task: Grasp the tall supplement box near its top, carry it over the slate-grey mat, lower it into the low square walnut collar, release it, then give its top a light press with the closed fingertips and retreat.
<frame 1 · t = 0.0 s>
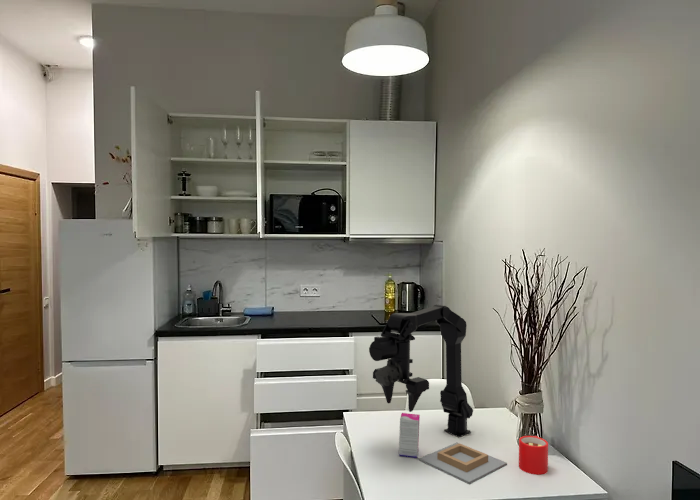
hand: (399, 407, 147), 15 cm above the table, fingers open, 9 cm apart
mug: (533, 465, 142), on the table
holder: (462, 462, 143), on the table
supplement box: (408, 454, 149), on the table
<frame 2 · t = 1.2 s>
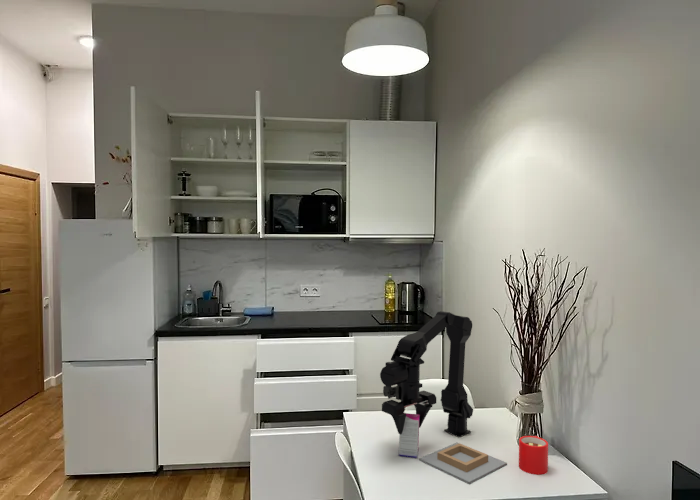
hand: (409, 430, 149), 7 cm above the table, fingers closed on supplement box, 8 cm apart
supplement box: (408, 454, 149), on the table, touching gripper
everything else where it was.
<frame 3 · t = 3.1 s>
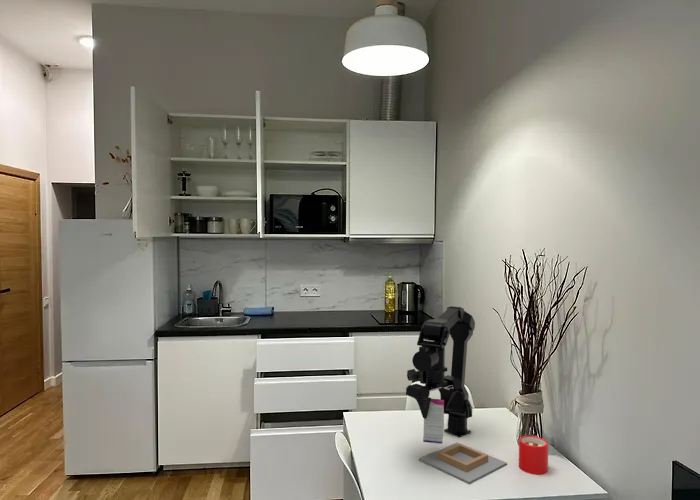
hand: (434, 415, 146), 13 cm above the table, fingers closed on supplement box, 8 cm apart
supplement box: (433, 439, 146), point 5 cm above the table, touching gripper
everything else where it was.
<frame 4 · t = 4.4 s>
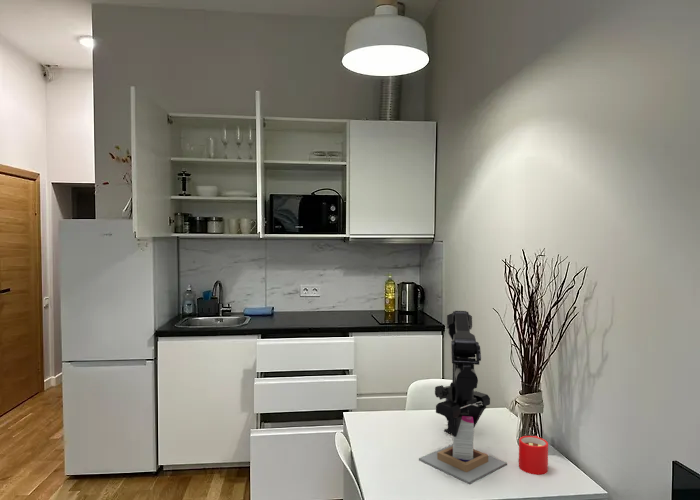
hand: (463, 432, 143), 9 cm above the table, fingers closed on supplement box, 8 cm apart
supplement box: (462, 457, 143), point 1 cm above the table, touching gripper
everything else where it was.
when the fingers open (9 cm above the table, at t = 5.0 s): supplement box stays where it is, resting on holder.
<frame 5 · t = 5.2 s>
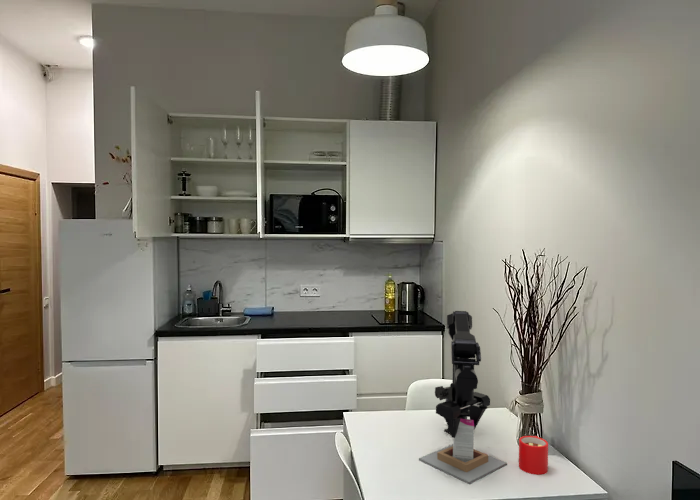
hand: (463, 433, 143), 9 cm above the table, fingers open, 9 cm apart
supplement box: (462, 460, 143), resting on holder
everything else where it was.
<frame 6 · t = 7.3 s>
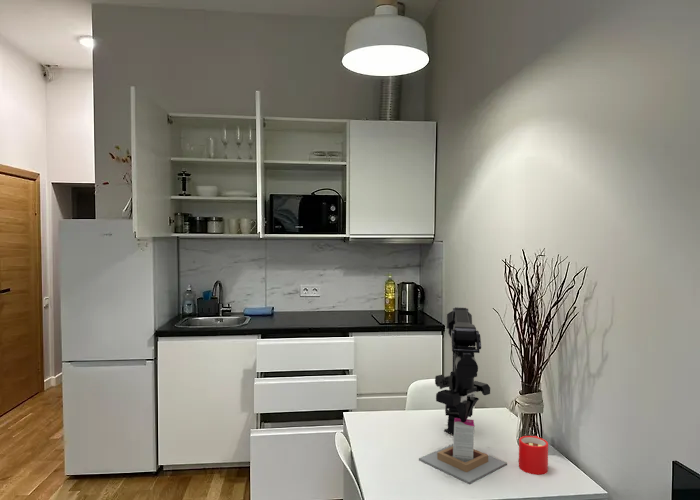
hand: (463, 421, 143), 12 cm above the table, fingers closed, pressing on supplement box
supplement box: (462, 460, 143), resting on holder, touching gripper
everything else where it was.
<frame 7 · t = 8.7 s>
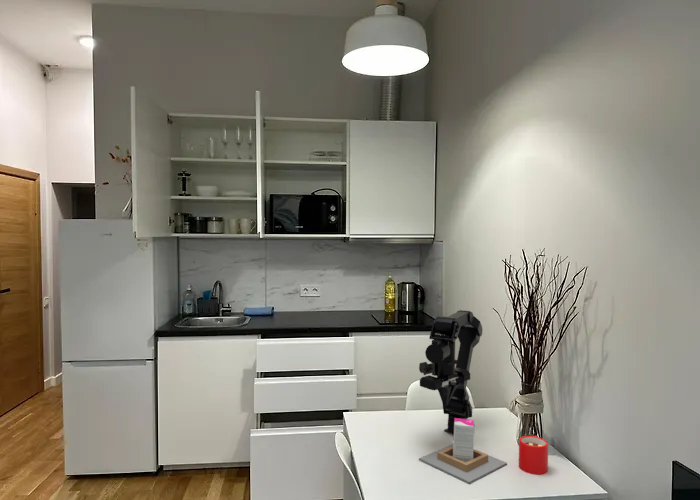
hand: (445, 405, 154), 13 cm above the table, fingers closed
supplement box: (462, 460, 143), resting on holder
everything else where it was.
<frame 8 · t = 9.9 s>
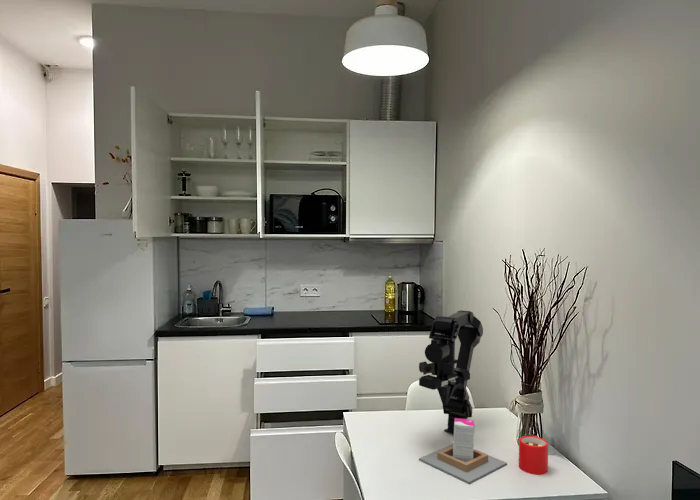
hand: (444, 404, 154), 13 cm above the table, fingers closed
nothing on the table moved.
at the end: supplement box 0.2 cm off-centre on the holder, point 0.4 cm above the holder's base; supplement box tilted 0°; the gripper is holding nothing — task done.
